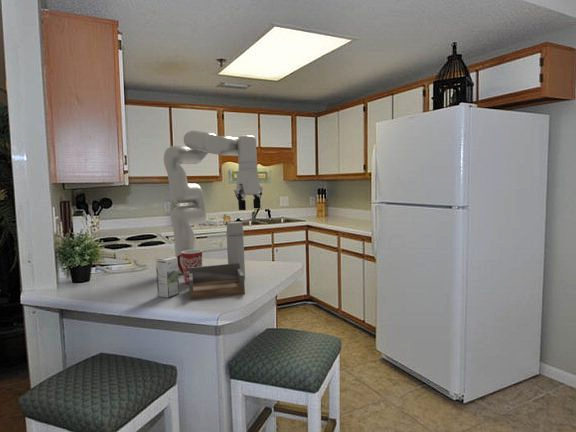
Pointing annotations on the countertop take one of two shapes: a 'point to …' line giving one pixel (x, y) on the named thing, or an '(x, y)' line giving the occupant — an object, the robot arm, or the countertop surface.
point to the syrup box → (167, 276)
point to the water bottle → (235, 244)
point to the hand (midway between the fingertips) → (249, 209)
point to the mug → (189, 262)
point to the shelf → (216, 281)
